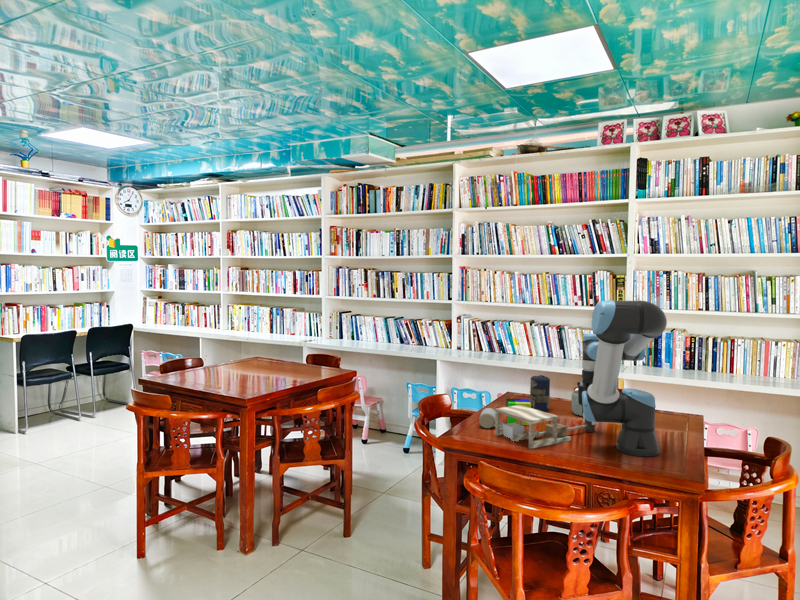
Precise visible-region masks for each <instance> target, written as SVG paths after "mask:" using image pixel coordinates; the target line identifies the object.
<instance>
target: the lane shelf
mask: <svg viewBox="0 0 800 600" xmlns="http://www.w3.org/2000/svg"><path fill="white" fill-rule="evenodd" d="M494 410H495V412H496V427H495V436H497V437H499V436H503V435H502V434H503V428H500V421H501V420H500V419H501V416H500V415H504V416H506V415H507V416H510V417H513V418H515V419H518V420H519V425H522V426H523V421H524V422H527V423H529V426H528V431H527V432H524V433H521V434H516V435H512V439H511V442H512V441H513V442H512V443H515V442H514V441H516V442H520V441H519V440H521V441H524V440H525V439H526V440H528V449H529V450H532V449H537V448H543V447H546V446H552V445H556V444H560V443H565V442H570V441H572V437H571V436H568V435H567V437H563V438H558V439H557V423H558V420H559V416H558V415H556V414H553V413H549V412H547V411H539V410H536V409H533V408H530V407H526V406H523V405H516V406H509V407H506V406H504V407H499V408H494ZM549 421H552V423H553V437H551V438H548V437H545V431H541V432H540V431H539V430H534V424H539V423H543V422H544V423H545V422H549ZM540 436H542V437H545V438H541V439H537V440H534V439H535V437H536V438H540Z"/></svg>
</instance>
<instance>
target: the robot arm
mask: <svg viewBox="0 0 800 600" xmlns="http://www.w3.org/2000/svg"><path fill="white" fill-rule="evenodd" d="M667 322H668V320H667V316H666V314H665V312H664V311H663V309H661V307H660V306H658V305H656V304H654V303H652V302H650V301H646V300H613V299H609V300H601V301H599V302H596V304H595V305H594V308H593V311H592V315H591V331H592V332H593V333H585V334H583V336H582V342H581V343H582V344H581V345H582V357H581V358H582V361H581V368H582V369H581V378H582V380H581V381H577V382H576V384H577V390H578V403H579V404H580V405H582V413H583V416H582V417H583V418H582V419H583V421H582V422H583V423H585V419H586V420H587V421H591V422H592V425H595V426H596V425H598V423H609V424H610V423H611V424H612V423H614V424H615V423H616V424H617V423H618V424H621V430H620V431H619V432H620V433H619V435H618V437H617V440H616V450H618V451H619V452H621V453H624V454H627V455H631V456H636V457H655V456H658V455H659V454H660V446H659V442H658V439H657V436H656V432H655V431H656V425H655V424H656V408H657V407H656V397H655V395H653V394H652V393H650V392H648V391H645V390H641V389H636V388H629V387H627V388H623V389H622V390H621V392H619V390H618V388H617V386H618V381H619V374H620V370H621V364H622V361H627V362H629V361H633V362H636V361H638V362H639V361H643V360H644V358H645V355H646V349H645V348H646V347H647V345H649V343H650V342H652V340H653V339H656V338H658V337H660V336H661V335H662V334H663V333H664V332H665V330H666V328H667V325H668V323H667Z"/></svg>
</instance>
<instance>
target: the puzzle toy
mask: <svg viewBox="0 0 800 600" xmlns="http://www.w3.org/2000/svg"><path fill="white" fill-rule="evenodd" d="M505 399H506V403H505V404H506V406H505V407H509V406H516V405H523V406H526V407H530V408H531V403H530V399H529V398H508V397H507V398H505ZM505 416H506V417H505V420H506V422H508V423H517V424H519V420H518V419H515V418H513V417H510V416H507V415H505ZM508 423H507V424H508ZM523 425H529V423H527V422H524V421H523Z"/></svg>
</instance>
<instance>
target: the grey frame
mask: <svg viewBox="0 0 800 600" xmlns="http://www.w3.org/2000/svg"><path fill="white" fill-rule="evenodd" d="M544 426H545V427H544V432H545V436H544V437H545V438H551V437H553V422H552V423H547V424H545V425H544ZM580 429H584V431H585V432H586V433H595V432H596V424H595V425H592V422H591V421H587V420H586V419H585V422H584V424H582V425H577V426H571V427H568V426H567V425H564V424H561V423H558V422H557V439H558V438H563V437H568V432H569V431H575V430H580Z"/></svg>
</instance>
